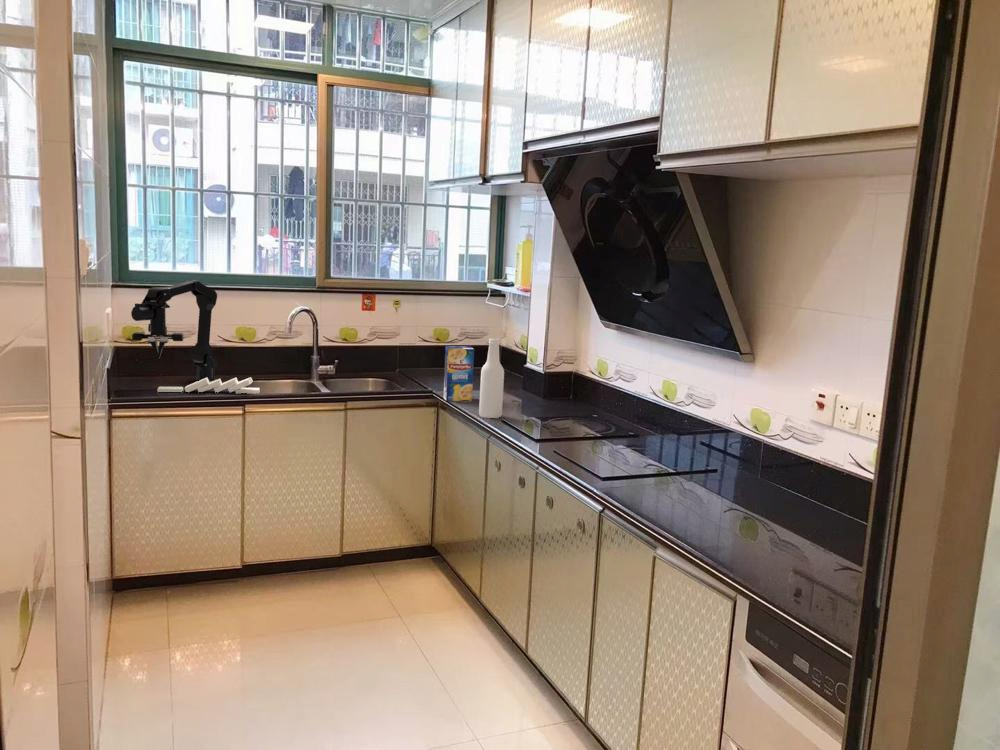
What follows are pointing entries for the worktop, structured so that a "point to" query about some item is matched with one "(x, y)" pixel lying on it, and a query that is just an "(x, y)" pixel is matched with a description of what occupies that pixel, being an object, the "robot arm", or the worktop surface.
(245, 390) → the domino
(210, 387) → the domino
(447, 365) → the blue food box
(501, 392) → the alcohol
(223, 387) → the domino
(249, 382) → the domino
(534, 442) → the worktop surface
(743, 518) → the worktop surface
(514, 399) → the worktop surface
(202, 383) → the domino
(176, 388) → the domino
